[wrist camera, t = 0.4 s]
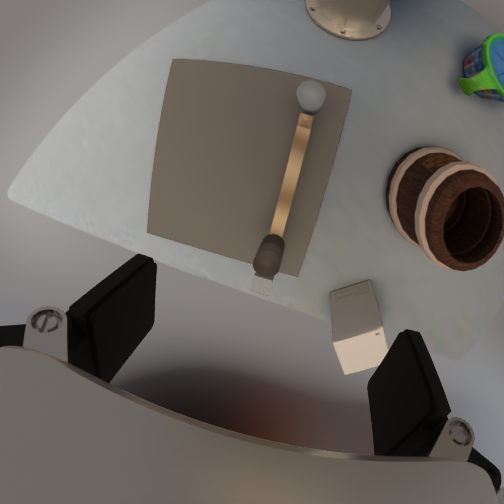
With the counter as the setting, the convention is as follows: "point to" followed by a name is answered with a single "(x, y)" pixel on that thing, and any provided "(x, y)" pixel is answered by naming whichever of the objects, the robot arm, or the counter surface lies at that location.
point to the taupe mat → (239, 159)
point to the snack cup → (485, 69)
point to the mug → (446, 207)
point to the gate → (283, 204)
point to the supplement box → (357, 328)
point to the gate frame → (310, 103)
